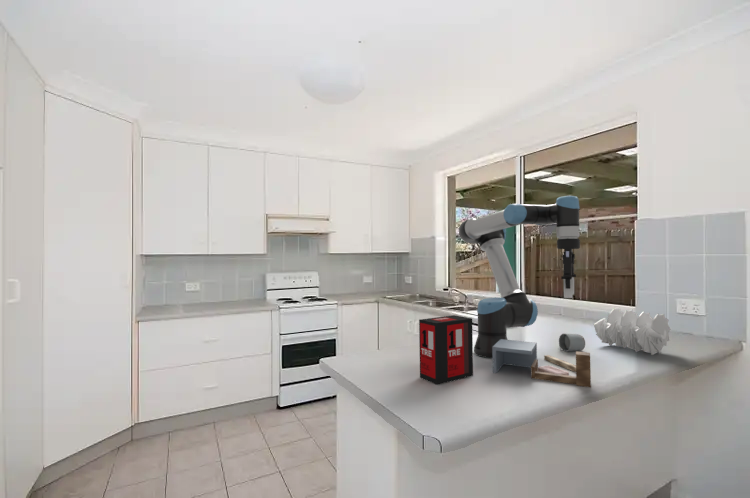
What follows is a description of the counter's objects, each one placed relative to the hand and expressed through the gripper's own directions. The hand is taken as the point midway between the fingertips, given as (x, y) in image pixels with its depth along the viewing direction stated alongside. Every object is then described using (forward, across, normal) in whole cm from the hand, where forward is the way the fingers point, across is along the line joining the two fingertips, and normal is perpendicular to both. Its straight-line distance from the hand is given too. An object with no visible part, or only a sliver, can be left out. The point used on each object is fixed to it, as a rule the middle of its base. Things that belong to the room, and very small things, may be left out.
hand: (569, 296), depth 139 cm
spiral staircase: (+27, +43, -22) cm, 55 cm away
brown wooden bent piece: (+27, -13, +2) cm, 30 cm away
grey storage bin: (+27, -11, +17) cm, 34 cm away
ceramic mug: (+27, +30, +2) cm, 41 cm away
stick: (+27, +3, +3) cm, 27 cm away
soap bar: (+27, -11, +5) cm, 30 cm away
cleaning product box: (+27, -30, +37) cm, 55 cm away
